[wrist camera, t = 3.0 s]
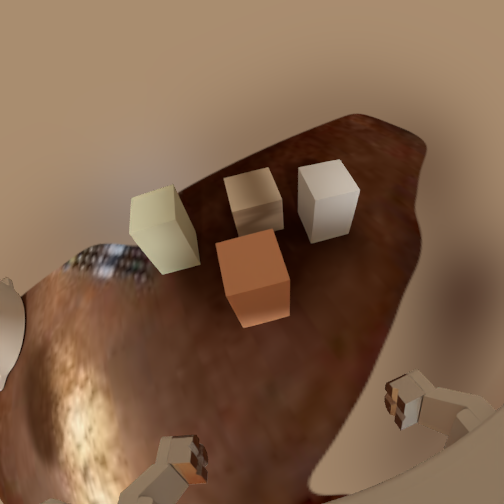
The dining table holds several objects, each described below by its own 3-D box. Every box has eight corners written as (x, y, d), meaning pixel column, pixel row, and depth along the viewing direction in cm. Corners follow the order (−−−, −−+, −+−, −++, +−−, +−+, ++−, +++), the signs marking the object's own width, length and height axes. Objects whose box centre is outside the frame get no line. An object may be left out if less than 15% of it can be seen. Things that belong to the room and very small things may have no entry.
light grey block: (311, 243, 30) (315, 200, 24) (297, 212, 32) (298, 167, 26) (348, 233, 30) (360, 190, 24) (333, 203, 32) (339, 159, 26)
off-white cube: (240, 240, 31) (231, 212, 27) (231, 207, 34) (223, 178, 29) (283, 229, 31) (282, 199, 27) (271, 197, 34) (268, 167, 29)
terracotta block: (243, 328, 26) (226, 296, 19) (233, 286, 28) (215, 243, 21) (289, 315, 26) (290, 279, 19) (277, 274, 28) (272, 228, 21)
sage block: (162, 274, 30) (129, 233, 23) (160, 242, 32) (131, 198, 25) (200, 264, 30) (175, 219, 23) (195, 231, 32) (173, 184, 25)
